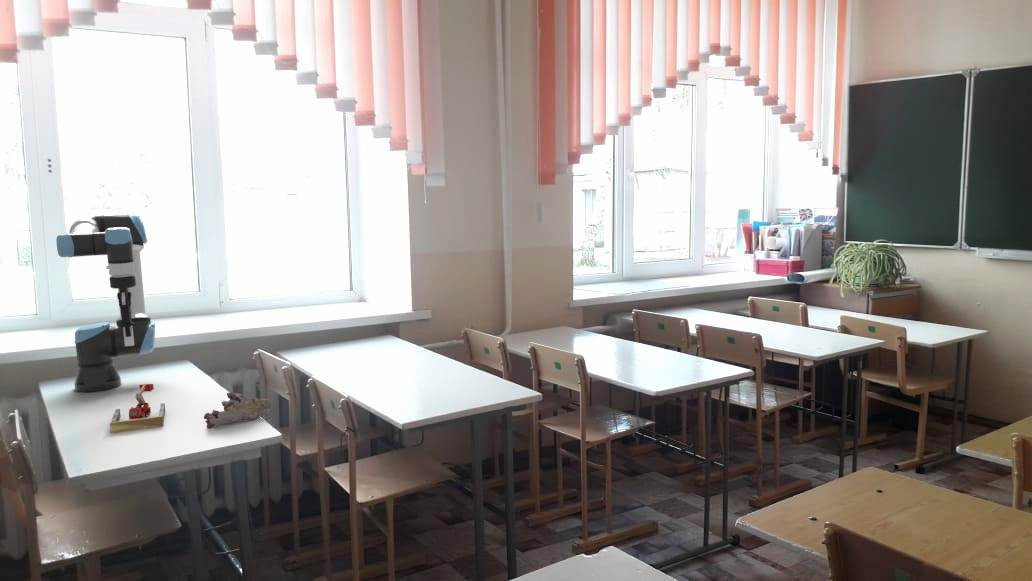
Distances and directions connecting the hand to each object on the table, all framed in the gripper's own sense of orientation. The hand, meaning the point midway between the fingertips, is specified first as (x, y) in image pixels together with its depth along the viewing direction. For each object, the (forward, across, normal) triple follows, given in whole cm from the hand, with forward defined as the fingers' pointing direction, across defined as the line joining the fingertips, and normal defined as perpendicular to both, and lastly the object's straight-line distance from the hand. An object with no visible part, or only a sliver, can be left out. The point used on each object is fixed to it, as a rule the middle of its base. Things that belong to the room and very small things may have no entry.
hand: (129, 345), depth 256 cm
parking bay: (+20, +19, +2) cm, 28 cm away
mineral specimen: (+20, +35, +31) cm, 51 cm away
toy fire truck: (+21, +15, +3) cm, 26 cm away
